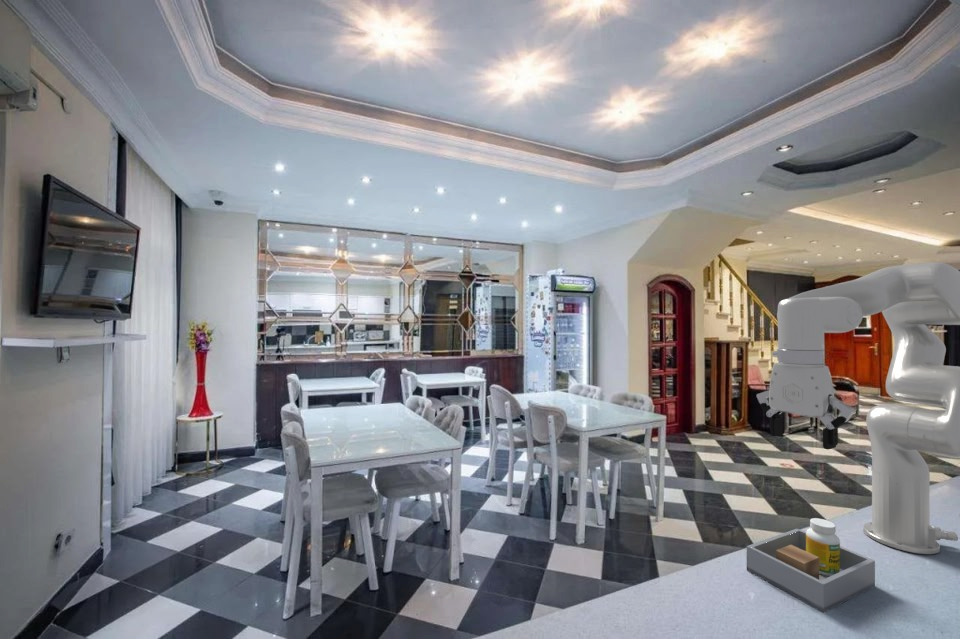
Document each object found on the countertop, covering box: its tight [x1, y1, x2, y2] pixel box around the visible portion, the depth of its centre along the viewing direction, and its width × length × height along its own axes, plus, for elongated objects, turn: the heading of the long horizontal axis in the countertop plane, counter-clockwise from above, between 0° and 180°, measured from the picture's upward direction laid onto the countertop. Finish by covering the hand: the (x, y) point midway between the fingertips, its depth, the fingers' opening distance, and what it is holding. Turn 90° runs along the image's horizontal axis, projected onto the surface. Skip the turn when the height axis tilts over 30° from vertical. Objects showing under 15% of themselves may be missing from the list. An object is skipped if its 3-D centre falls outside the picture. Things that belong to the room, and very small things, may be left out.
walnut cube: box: [776, 545, 819, 580], centre depth 81 cm, size 5×5×5 cm
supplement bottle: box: [805, 517, 841, 576], centre depth 84 cm, size 5×5×10 cm
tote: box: [746, 528, 876, 614], centre depth 83 cm, size 18×14×5 cm
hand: (801, 441), depth 85 cm, fingers open, 9 cm apart
